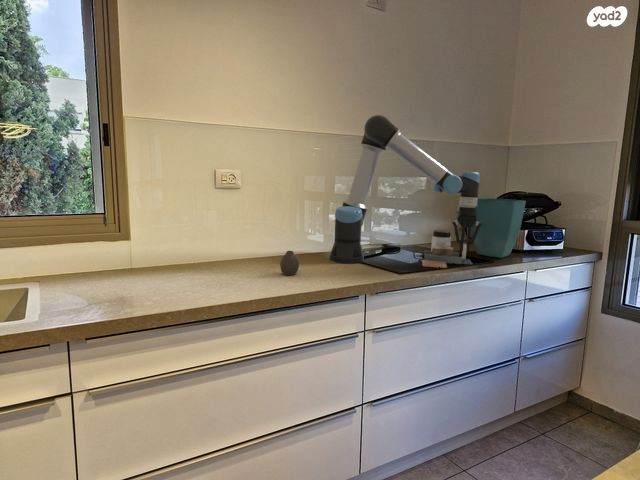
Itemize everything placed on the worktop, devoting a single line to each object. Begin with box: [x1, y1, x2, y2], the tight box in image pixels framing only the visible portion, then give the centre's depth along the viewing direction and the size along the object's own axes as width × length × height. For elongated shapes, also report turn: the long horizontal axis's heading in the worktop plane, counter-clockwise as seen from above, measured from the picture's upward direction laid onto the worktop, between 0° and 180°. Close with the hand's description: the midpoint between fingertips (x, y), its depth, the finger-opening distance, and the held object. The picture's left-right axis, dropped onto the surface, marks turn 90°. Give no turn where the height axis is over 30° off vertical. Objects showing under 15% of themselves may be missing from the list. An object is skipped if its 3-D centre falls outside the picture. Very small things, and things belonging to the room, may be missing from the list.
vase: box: [279, 250, 300, 277], centre depth 154 cm, size 7×7×9 cm
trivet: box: [421, 259, 448, 269], centre depth 182 cm, size 10×10×1 cm
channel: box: [423, 250, 462, 265], centre depth 193 cm, size 16×12×3 cm
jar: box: [430, 229, 452, 251], centre depth 205 cm, size 9×8×12 cm
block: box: [432, 246, 454, 256], centre depth 192 cm, size 9×7×6 cm
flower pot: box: [471, 197, 527, 259], centre depth 209 cm, size 20×20×28 cm
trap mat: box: [461, 258, 474, 266], centre depth 191 cm, size 5×12×1 cm, turn 167°
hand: (463, 258), depth 191 cm, fingers closed
